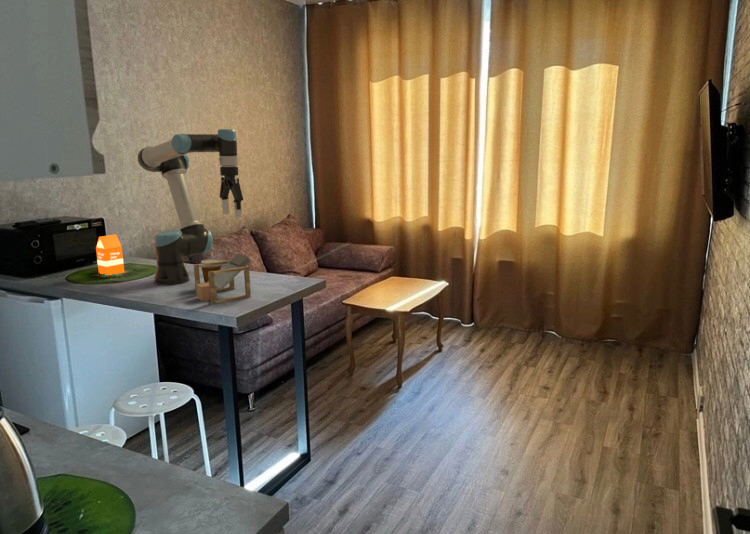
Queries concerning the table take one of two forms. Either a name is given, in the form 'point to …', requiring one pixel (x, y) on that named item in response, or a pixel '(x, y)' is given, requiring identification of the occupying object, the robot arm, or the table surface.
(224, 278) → the trapdoor
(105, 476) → the table surface
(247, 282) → the frame
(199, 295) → the block
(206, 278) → the disposable coffee cup
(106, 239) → the orange juice
